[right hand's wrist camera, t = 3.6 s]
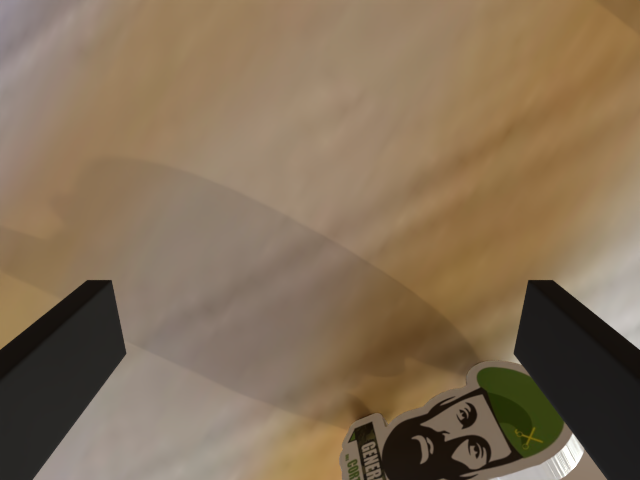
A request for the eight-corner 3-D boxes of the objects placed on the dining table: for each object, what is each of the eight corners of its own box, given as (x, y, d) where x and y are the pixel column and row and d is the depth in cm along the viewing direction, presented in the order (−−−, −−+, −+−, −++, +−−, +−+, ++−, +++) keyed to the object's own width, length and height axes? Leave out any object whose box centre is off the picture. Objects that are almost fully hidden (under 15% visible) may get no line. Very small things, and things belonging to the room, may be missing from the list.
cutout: (351, 562, 38) (620, 484, 32) (337, 546, 38) (609, 462, 31) (350, 432, 52) (538, 360, 46) (340, 418, 52) (529, 342, 45)
